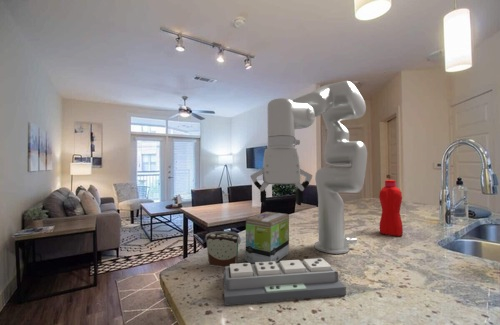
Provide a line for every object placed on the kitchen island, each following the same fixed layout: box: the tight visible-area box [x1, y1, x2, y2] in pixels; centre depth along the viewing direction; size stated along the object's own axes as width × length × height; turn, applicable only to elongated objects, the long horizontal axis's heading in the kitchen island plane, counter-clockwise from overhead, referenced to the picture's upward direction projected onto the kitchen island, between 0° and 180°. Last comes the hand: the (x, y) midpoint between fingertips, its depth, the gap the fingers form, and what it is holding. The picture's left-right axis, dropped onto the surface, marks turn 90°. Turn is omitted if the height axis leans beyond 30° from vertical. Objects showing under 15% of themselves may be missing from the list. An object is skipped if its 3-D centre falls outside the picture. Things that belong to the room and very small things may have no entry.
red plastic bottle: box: [378, 179, 404, 237], centre depth 113 cm, size 9×11×25 cm
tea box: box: [244, 211, 290, 264], centre depth 85 cm, size 15×10×15 cm, turn 148°
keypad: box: [222, 260, 347, 306], centre depth 65 cm, size 30×14×4 cm, turn 97°
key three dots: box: [303, 257, 332, 272], centre depth 66 cm, size 6×6×2 cm
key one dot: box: [279, 259, 306, 274], centre depth 65 cm, size 6×6×2 cm
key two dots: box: [230, 262, 253, 278], centre depth 63 cm, size 6×6×2 cm
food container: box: [204, 230, 242, 268], centre depth 80 cm, size 12×6×10 cm, turn 71°
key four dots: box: [255, 261, 280, 276], centre depth 64 cm, size 6×6×2 cm
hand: (281, 204), depth 67 cm, fingers open, 9 cm apart
